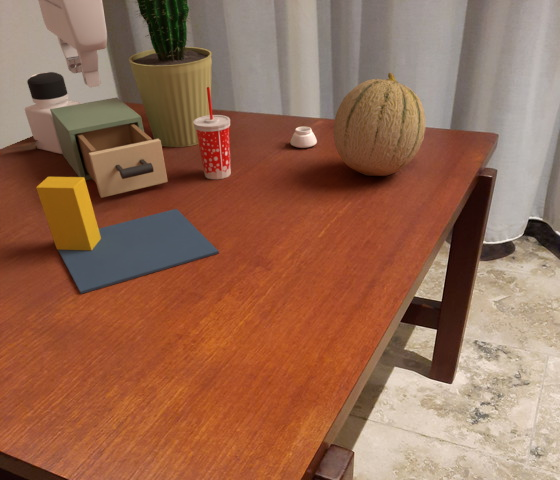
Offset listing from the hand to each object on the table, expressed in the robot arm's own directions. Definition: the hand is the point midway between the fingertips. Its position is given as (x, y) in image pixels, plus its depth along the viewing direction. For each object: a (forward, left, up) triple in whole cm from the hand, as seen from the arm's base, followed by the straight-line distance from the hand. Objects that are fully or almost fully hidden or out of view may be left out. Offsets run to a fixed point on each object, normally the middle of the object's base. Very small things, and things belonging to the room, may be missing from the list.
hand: (84, 78), depth 74 cm
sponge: (-8, -8, -19) cm, 22 cm away
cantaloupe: (+43, -10, -19) cm, 48 cm away
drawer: (+5, +9, -18) cm, 21 cm away
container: (0, +37, -19) cm, 41 cm away
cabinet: (+5, +23, -19) cm, 30 cm away
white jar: (+40, +9, -19) cm, 45 cm away
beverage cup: (+20, +5, -19) cm, 28 cm away
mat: (-1, -13, -19) cm, 23 cm away
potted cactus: (+22, +27, -19) cm, 40 cm away
